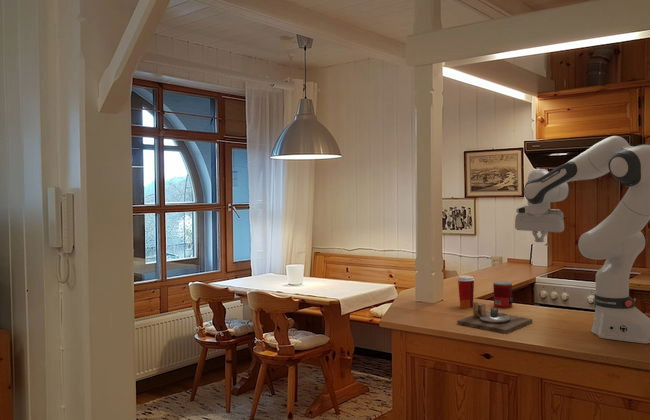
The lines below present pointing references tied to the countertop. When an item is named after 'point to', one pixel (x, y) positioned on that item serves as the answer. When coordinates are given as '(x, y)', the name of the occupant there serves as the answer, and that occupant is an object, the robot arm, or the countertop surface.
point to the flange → (491, 315)
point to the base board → (496, 327)
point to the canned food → (502, 294)
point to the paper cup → (466, 291)
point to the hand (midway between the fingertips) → (539, 242)
